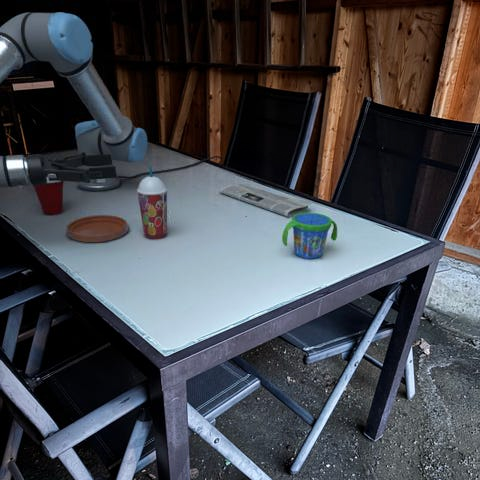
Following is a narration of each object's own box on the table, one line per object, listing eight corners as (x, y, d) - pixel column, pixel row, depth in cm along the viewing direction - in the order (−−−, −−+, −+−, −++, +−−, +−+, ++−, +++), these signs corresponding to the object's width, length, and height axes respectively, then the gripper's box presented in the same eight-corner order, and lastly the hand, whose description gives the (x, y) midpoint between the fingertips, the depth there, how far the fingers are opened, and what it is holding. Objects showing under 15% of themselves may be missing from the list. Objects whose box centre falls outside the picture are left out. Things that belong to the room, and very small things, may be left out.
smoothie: (175, 233, 142) (171, 164, 131) (159, 242, 135) (154, 171, 125) (151, 228, 145) (146, 161, 134) (135, 237, 138) (128, 167, 128)
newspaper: (219, 193, 176) (219, 184, 174) (244, 187, 183) (244, 178, 182) (290, 219, 154) (291, 208, 152) (314, 211, 162) (315, 200, 160)
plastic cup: (60, 219, 150) (53, 181, 144) (29, 216, 152) (21, 178, 146) (77, 208, 159) (71, 172, 153) (47, 205, 161) (40, 169, 155)
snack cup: (327, 244, 137) (331, 210, 131) (342, 259, 128) (347, 223, 123) (275, 248, 133) (277, 213, 128) (287, 264, 125) (289, 227, 119)
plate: (102, 218, 152) (101, 211, 151) (139, 230, 143) (139, 223, 142) (56, 233, 140) (54, 226, 139) (93, 248, 131) (92, 240, 130)
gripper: (33, 172, 133) (111, 167, 139) (29, 199, 113) (120, 193, 119) (27, 144, 129) (107, 141, 135) (22, 167, 109) (116, 162, 115)
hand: (113, 165), depth 127 cm, fingers open, 13 cm apart
